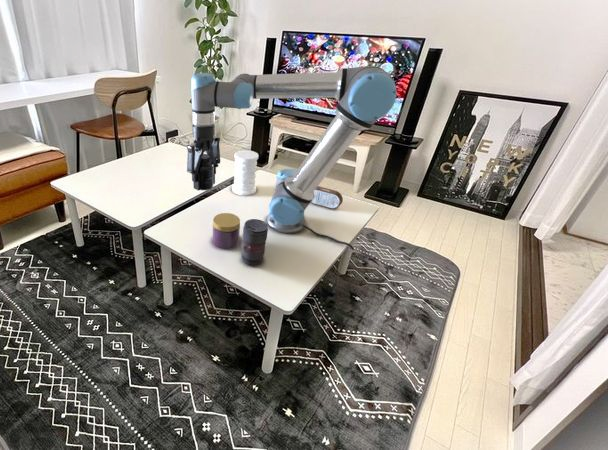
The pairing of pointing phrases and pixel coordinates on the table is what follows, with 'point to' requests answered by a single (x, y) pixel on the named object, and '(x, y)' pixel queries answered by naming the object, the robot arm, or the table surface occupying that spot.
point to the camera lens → (254, 241)
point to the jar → (226, 238)
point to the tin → (327, 198)
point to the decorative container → (245, 172)
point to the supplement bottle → (206, 172)
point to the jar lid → (226, 222)
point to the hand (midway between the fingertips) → (204, 185)
